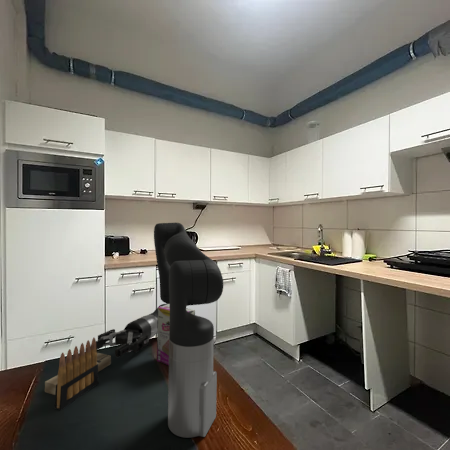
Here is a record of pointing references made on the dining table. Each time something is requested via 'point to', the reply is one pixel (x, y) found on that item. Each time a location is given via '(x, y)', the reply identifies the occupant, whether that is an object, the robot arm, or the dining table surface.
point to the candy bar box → (164, 333)
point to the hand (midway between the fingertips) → (103, 350)
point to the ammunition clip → (76, 374)
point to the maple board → (102, 362)
